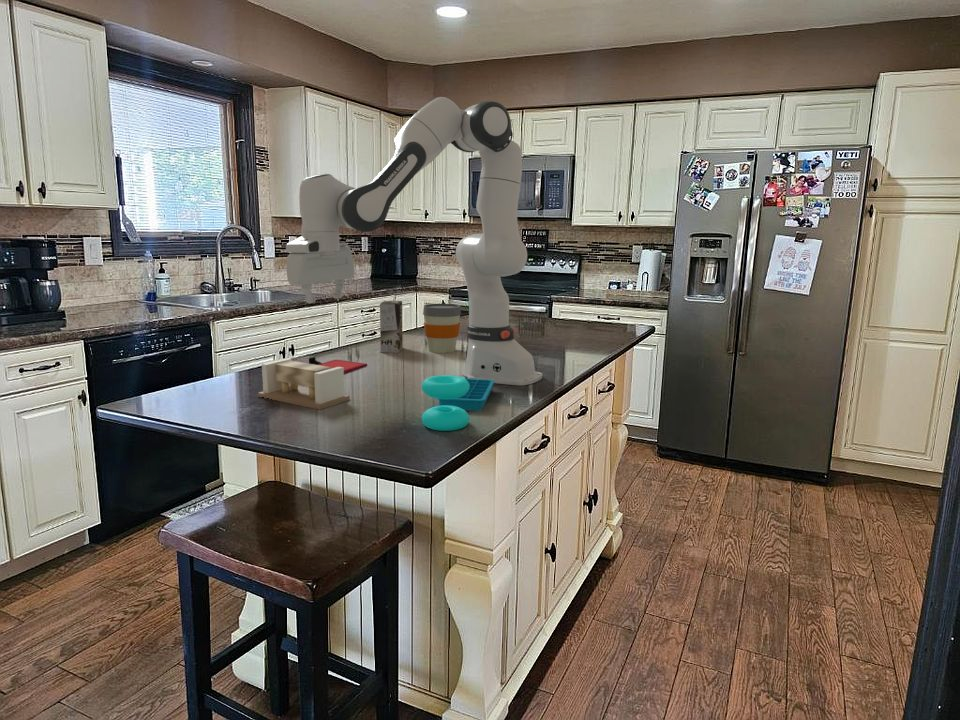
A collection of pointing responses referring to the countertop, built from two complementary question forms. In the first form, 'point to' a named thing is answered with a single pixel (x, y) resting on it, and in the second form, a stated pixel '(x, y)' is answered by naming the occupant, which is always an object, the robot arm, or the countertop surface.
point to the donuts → (445, 414)
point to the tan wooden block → (298, 372)
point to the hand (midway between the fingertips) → (324, 300)
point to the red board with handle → (338, 364)
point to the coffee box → (391, 326)
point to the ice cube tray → (472, 395)
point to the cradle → (305, 388)
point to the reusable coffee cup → (441, 326)
